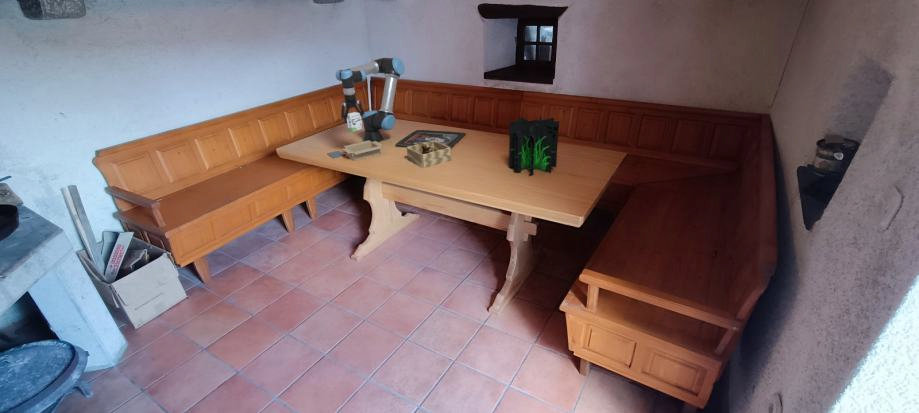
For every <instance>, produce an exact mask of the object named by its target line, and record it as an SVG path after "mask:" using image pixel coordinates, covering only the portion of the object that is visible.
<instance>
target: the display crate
mask: <svg viewBox="0 0 919 413" xmlns="http://www.w3.org/2000/svg"><path fill="white" fill-rule="evenodd" d="M423 144H426V145H430V148H431V149H432V150H433V151H434V152H430V153H426V154H422V151H423V149H422V145H423ZM423 144H422V143H421V144H417V145H413V146H409V147H406V153H407V155H406V156H407V161H409V163H410V162H411V163H412V164H414V165H416V166H418V167H420V168H423V169H425V168H429V167H434V166H437V165H440V164H444V163H447V162H451V161H452V154H451V153H452V152H451V149H452V147H451V148H450V147H449V146H446V145H444V144H442V143H440V142H437V141H434V140H433V141H429V142H425V143H423Z"/></svg>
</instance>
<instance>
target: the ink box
mask: <svg viewBox="0 0 919 413" xmlns="http://www.w3.org/2000/svg"><path fill="white" fill-rule="evenodd" d="M347 118H348V122H349V128H347V129H348V132H352V133H353V132H357V131H360V130H362V129H363V127H362V126H363V125H361V119H360V113H358V112H357V111H353V112H350V113H349V112H348V116H347Z"/></svg>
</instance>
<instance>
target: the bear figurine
mask: <svg viewBox="0 0 919 413" xmlns="http://www.w3.org/2000/svg"><path fill="white" fill-rule="evenodd" d="M422 144H423V143H422ZM422 149H423V151H422V154H426V153H430V152H434V151H433V150H432V149H431V148H430V145H426V144H423V145H422Z"/></svg>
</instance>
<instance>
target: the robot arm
mask: <svg viewBox="0 0 919 413" xmlns="http://www.w3.org/2000/svg"><path fill="white" fill-rule="evenodd" d="M404 73H405V64H404V61H403V60H402V59H400V58H397V57H381V58H378V59H373V60H371V61H369V63H364V64H361V65H357V66H354V67H350V68H346V69H338V70H336V71H335V79H336V80H337V81H339V82H341V84H342V90H343V94H344V95H343V98H344V103H340V107H341V110H340V112H341V115H340V117H341V119H343V120H344V124H345V125H346V128H347V129H348V128H349V122H348V118H347V116H348V114H349V111H350V109H352V108H353V109H355V110H356V111H355V112H358V113H360V119H361V126H363V128H364V129H363V130H364V135H363V142H364V141H371V142H374V141H377V142H378V143H381V142H382V141H384V137H383V134H382V132H381V130H383V131H391V130H392V129H393V128H395V124H396V117H395V116H394V112H393V107H394V102H395V95H396V90H397V85H398V84H397V83H398V80H400V78H401V75H403V74H404ZM371 74H374V75H377V74H383V75H384V76H385V82H384V88H383V92H382V100H381V104H380V105H381V106H380V109H379V110H376V109H374V110H368V111H364V108H363V106H362V102H361V101H362V100H357V96H356V91H355V84H358V83H363V82H364V81H366V79H367V76H368V75H371ZM357 105H358V106H357Z"/></svg>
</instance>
